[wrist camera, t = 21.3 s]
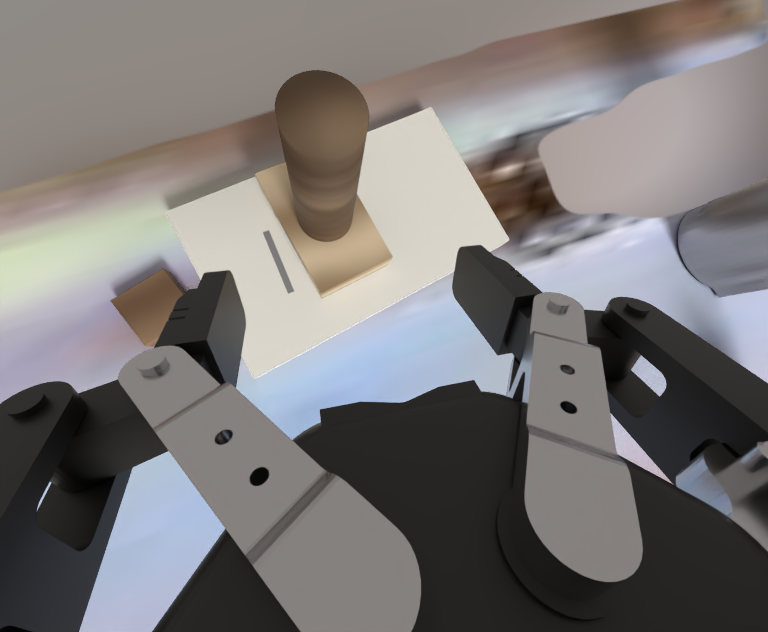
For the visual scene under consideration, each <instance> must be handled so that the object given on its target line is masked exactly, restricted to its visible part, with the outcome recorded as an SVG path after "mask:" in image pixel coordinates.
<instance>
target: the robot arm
mask: <svg viewBox="0 0 768 632" xmlns="http://www.w3.org/2000/svg"><path fill="white" fill-rule="evenodd" d="M678 246H679V250H680V254H681V257H682V259H683V261H684V263H685V265H686V266H687V268H688V270H689V271H690V272H691V273H692V274H693V276H694V277H695V278H696V279H698V280H699V281H700V282H701V283H703V284H705V285H707V286H709V287H710V288H712V289H713V290H714V291H715V292H716V294H717V296H718V297H725V296H730V295H736V294H742V293H748V292H754V291H760V290H766V289H768V178H766V179H763V180H761V181H758V182H756V183H754V184H751V185H749V186H747V187H744V188H742V189H740V190H738V191H735V192H733V193H730V194H728V195H726V196H723V197H720V198H718V199H715V200H713V201H710V202H708V203H707V204H705V205H702V206H700V207H698V208H695V209H693V210H691V211H690V212H688V213H687V214H686V215H685V217H684V218H683V219H682V221H681V224H680V226H679V231H678ZM452 289H453V294H454V297H455V299H456V300H457V302H458V303H459V304H460V306H461V307H462V308H463V310H464V311H465V312H466V314H467V315H468V316H469V318H470V319H471V320H472V322H473V323H474V324H475V326H476V327H477V328H478V330H479V331H480V332H481V334H482V335H483V336H484V338H485V339H486V340H487V342H488V343H489V344H490V346H491V347H492V348H493V350H494V351H495V352H496V354H497V355H502V354H508V353H513V355H514V357H513V360H512V363H511V368H510V374H509V380H508V386H507V392H506V396H504V395H500V394H496V393H490V392H481V391H480V389H479V387H478V386H477V384H476V383H475V381H474V380H472V381H467V382H462V383H457V384H451V385H446V386H441V387H438V388H435V389H433V390H431V391H429V392H427V393H424V394H422V395H420V396H418V397H416V398H413V399H411V400H409V401H407V402H403V403H386V402H357V403H352V404H347V405H342V406H336V407H331V408H326V409H321V410H320V417H321V423H319V424H316V425H314V426H312V427H311V428H309V429H307V430H305V431H304V432H302V433H301V434H300V435H298V436H297V437H296V438H294V439H293V440H291V439H290V438H289V437H288V436H287V435H286V434H285V433H284V432H283V431H282V430H280V429H279V428H278V427H277V426H276V425H275V424H274V423H273V422H272V421H271V420H270V419H269V418H267V417H266V416H265V415H264V414H263V413H262V412H261V411H260V410H259V409H258V408H257V407H256V406H254V405H253V404H252V403H251V402H250V401H249V400H248V399H247V398H246V397H245V396H244V395H242V394H241V393H240V392H239V391H238V390H237V389H236V384H237V378H238V372H239V366H240V360H241V353H242V347H243V341H244V335H245V329H246V317H245V312H244V308H243V305H242V302H241V299H240V295H239V292H238V289H237V286H236V283H235V280H234V277H233V274H232V272H231V271H230V270H225V271H216V272H206V273H204V274H203V276H202V279H201V281H200V283H199V286H198V288H197V289H190V290H188V291H187V292H186V293H185V294H183V295H182V296H181V297H180V298H179V299H178V300H177V302H176V304H175V306H174V308H173V312H171V314H170V316H169V318H168V320H169V321H167V322H166V324H165V326H164V328H163V330H162V332H161V334H160V336H159V338H158V340H157V343H156V345H155V347H154V348H153V349H150V350H147V351H145V352H142V353H141V354H139V355H137V356H135V357H134V358H132V359H131V360H130V361H128V362H127V363H126V364H125V365H124V366H123V368H122V369H121V371H120V373H119V376H118V380H115V381H113V382H110V383H107V384H104V385H101V386H98V387H96V388H93V389H90V390H87V391H84V392H81V393H77V392H76V391H75V389H74V388H73V387H72V386H71V385H70V384H68V383H66V382H60V381H56V382H47V383H43V384H39V385H36V386H33V387H30V388H28V389H25V390H23V391H21V392H19V393H17V394H15V395H13V396H11V397H10V398H8V399H7V400H5V401H4V402H2V403H1V404H0V632H79V630H80V627H81V624H82V620H83V617H84V614H85V611H86V608H87V605H88V602H89V599H90V596H91V593H92V590H93V587H94V584H95V581H96V578H97V575H98V572H99V569H100V565H101V562H102V559H103V556H104V553H105V550H106V547H107V544H108V541H109V538H110V535H111V532H112V529H113V526H114V523H115V520H116V517H117V513H118V510H119V507H120V504H121V501H122V498H123V495H124V492H125V489H126V486H127V483H128V480H129V477H130V474H131V471H132V468H133V467H134V466H137V465H139V464H141V463H143V462H145V461H147V460H150V459H152V458H154V457H156V456H158V455H161V454H163V453H165V452H167V451H169V452H170V453H171V454H172V456H173V457H174V459H175V460H176V461H177V463H178V464H179V465H180V467H181V468H182V470H183V471H184V472H185V474H186V475H187V476H188V478H189V479H190V480H191V482H192V483H193V485H194V486H195V487H196V489H197V490H198V491H199V493H200V494H201V496H202V497H203V498H204V500H205V501H206V502H207V504H208V505H209V507H210V508H211V509H212V511H213V512H214V513H215V515H216V516H217V517H218V519H219V520H220V522H221V523H222V524H223V526H224V527H225V528H226V529H225V530H224V532H223V533H222V534H221V536H220V537H219V539H218V540H217V541H216V543H215V544H214V546H213V547H212V548H211V550H210V551H209V553H208V554H207V555H206V557H205V558H204V560H203V561H202V562H201V564H200V565H199V567H198V568H197V569H196V571H195V572H194V574H193V575H192V576H191V578H190V579H189V581H188V582H187V583H186V585H185V586H184V588H183V589H182V591H181V592H180V593H179V595H178V596H177V598H176V599H175V600H174V602H173V603H172V605H171V606H170V607H169V609H168V610H167V612H166V613H165V614H164V616H163V617H162V619H161V620H160V621H159V623H158V624H157V626H156V627H155V628H154V630H153V631H152V632H768V383H766V382H765V381H763V380H762V379H760V378H759V377H758V376H756V375H755V374H753V373H752V372H750V371H749V370H747V369H746V368H744V367H743V366H741V365H740V364H738V363H737V362H735V361H734V360H732V359H731V358H730V357H728V356H727V355H725V354H724V353H722V352H721V351H719V350H718V349H716V348H715V347H713V346H712V345H710V344H709V343H707V342H706V341H705V340H703V339H702V338H700V337H699V336H697V335H696V334H694V333H693V332H691V331H690V330H688V329H687V328H685V327H684V326H682V325H681V324H680V323H678V322H677V321H675V320H674V319H672V318H671V317H669V316H668V315H666V314H665V313H663V312H662V311H660V310H659V309H657V308H656V307H654V306H653V305H651V304H649V303H646V302H644V301H641V300H638V299H634V298H628V297H616V298H613V299H611V300H610V302H609V303H608V305H607V307H606V309H605V311H594V310H584V309H583V307H582V305H581V304H580V303H579V302H577V301H576V300H574V299H573V298H571V297H568V296H566V295H563V294H559V293H552V292H545V293H543V292H541V291H540V290H539V289H538V288H537V287H536V286H534V285H533V284H532V283H531V282H530V281H528V280H527V279H526V278H525V277H524V276H522V275H521V274H520V273H519V272H518V271H517V270H515V269H514V268H513V267H512V266H511V265H510V264H509V263H507V262H506V261H504V260H502V259H500V258H497V257H495V256H493V255H492V254H491V253H490V252H489V251H488V250H487V249H485V248H484V247H483V246H482V245H473V246H463V247H460V248H459V250H458V253H457V258H456V264H455V271H454V277H453V284H452ZM641 355H642V356H643V357H644V358H645V359H646V360H648V361H649V362H650V363H651V364H652V365H653V366H655V367H656V368H657V369H658V370H659V371H660V372H661V373H662V374H663V375H664V377H665V379H666V383H667V386H666V390H665V391H664V392H663V394H662V395H661V396H660V397H659V396H658V395H657V394H656V393H655V392H654V391H653V390H652V389H651V388H650V387H648V386H647V385H646V384H645V383H644V382H643V381H642V380H641V379H640V378H639V377H638V376H637V375H636V374H634V373H633V372H632V371H631V369H632V367H633V366H634V364H635V363H636V361H637V360H638V359H639V357H640V356H641ZM610 413H611V414H612V415H613V416H614V417H615V418H616V419H617V421H618V422H619V423H620V424H621V425H622V426H623V427H624V429H625V430H626V431H627V432H628V433H629V434H630V435H631V437H632V438H633V439H634V440H635V441H636V442H637V443H638V445H639V446H640V447H641V448H642V449H643V450H644V451H645V452H646V454H647V455H648V456H649V457H650V458H651V459H652V460H653V462H654V463H655V464H656V465H657V466H658V467H659V468H660V470H661V471H662V472H663V473H664V474H665V475H666V476H667V478H668V479H669V480H670V481H671V482H672V483H673V484H674V485H673V484H671V483H669V482H667V481H665V480H664V479H662V478H660V477H658V476H656V475H654V474H653V473H651V472H649V471H647V470H645V469H643V468H642V467H640V466H638V465H636V464H634V463H632V462H630V461H629V460H627V459H625V458H623V457H621V456H619V455H618V454H617V452H616V447H615V441H614V434H613V428H612V421H611V415H610ZM49 482H52V483H51V485H50V487H49V489H48V491H47V493H46V495H45V497H44V499H43V501H42V503H41V505H40V507H39V509H38V511H37V507H38V504H39V501H40V499H41V497H42V495H43V493H44V491H45V489H46V488H47V486H48V484H49Z"/></svg>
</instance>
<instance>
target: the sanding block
mask: <svg viewBox="0 0 768 632" xmlns="http://www.w3.org/2000/svg"><path fill="white" fill-rule="evenodd" d="M275 113H276V118H277V123H278V128H279V132H280V137H281V142H282V147H283V151H284V156H285V161H286V162H283V163H281V164H278V165H276V166H273V167H270V168H268V169H265V170H263V171H260V172H258V173H255V175H256V177H257V180H258V183H259V185H260V188H261V190H262V192H263V193H264V195H265V197H266V199H267V201H268V202H269V204H270V206H271V208H272V210H273V211H274V213H275V215H276V217H277V219H278V220H279V222H280V224H281V226H282V228H283V229H284V231H285V233H286V235H287V237H288V239H289V240H290V242H291V244H292V246H293V248H294V249H295V251H296V253H297V255H298V257H299V258H300V260H301V262H302V264H303V266H304V267H305V269H306V271H307V273H308V275H309V276H310V278H311V280H312V282H313V284H314V286H315V287H316V289H317V291H318V293H319V295H320V296H321V298H324V297H326V296H328V295H330V294H332V293H334V292H336V291H338V290H340V289H342V288H344V287H346V286H348V285H350V284H352V283H354V282H356V281H358V280H360V279H362V278H364V277H366V276H368V275H370V274H371V273H373V272H375V271H377V270H379V269H381V268H383V267H385V266H387V265H388V264H389V263H390V261H391V259H392V258H393V256H392V255H391V253H390V251H389V249H388V248H387V246H386V244H385V242H384V240H383V239H382V237H381V235H380V233H379V232H378V230H377V228H376V226H375V225H374V223H373V221H372V219H371V218H370V216H369V214H368V212H367V211H366V209H365V207H364V205H363V204H362V202H361V200H360V198H359V197H358V195H357V189H358V184H359V178H360V172H361V166H362V160H363V154H364V148H365V142H366V136H367V130H368V124H369V110H368V106H367V103H366V101H365V99H364V97H363V95H362V94H361V92H360V91H359V90H358V89H357V87H355V86H354V85H353V84H352V83H351V82H350V81H348V80H347V79H345V78H343V77H342V76H339V75H337V74H334V73H331V72H327V71H319V70H312V71H306V72H302V73H299V74H297V75H295V76H293V77H291V78H290V79H289V80H287V81H286V82H285V83H284V84H283V86H282V87H281V88H280V90H279V92H278V94H277V97H276V102H275Z"/></svg>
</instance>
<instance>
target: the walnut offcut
mask: <svg viewBox="0 0 768 632" xmlns="http://www.w3.org/2000/svg"><path fill="white" fill-rule="evenodd" d="M183 294H185V292H184V290H183V289H182V288H181V286H180V285H179V284H178V283H177V281H176V280H175V279H174V277H173V276H172V275H171V273H169V272H168V271H166V270H164V269H162V270H160V271H159V272H157V273H155V274H154V275H152V276H150V277H149V278H147V279H145V280H144V281H142V282H140V283H139V284H137V285H135V286H134V287H132V288H130V289H129V290H127V291H125V292H124V293H122V294H121V295H119V296H117V297H116V298H114V299H112V300H111V302H112V303H113V305H114V306H115V307H116V309H117V310H118V311H119V313H120V314H121V315H122V316H123V318H124V319H125V320H126V322H127V323H128V324H129V326H130V327H131V328H132V329H133V331H134V332H135V333H136V335H137V336H138V337H139V339H140V340H141V341H142V343H143V344H144V345H146V346H154V345H156V343H157V340H158V338H159V336H160V334H161V332H162V330H163V328H164V326H165V324H166V322H167V321H169V320H168V318H169V316H170V314H171V312H173V308H174V306H175V304H176V302H177V300H178V299H179V298H180V297H181V296H182V295H183Z"/></svg>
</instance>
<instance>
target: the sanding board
mask: <svg viewBox="0 0 768 632" xmlns="http://www.w3.org/2000/svg"><path fill="white" fill-rule="evenodd" d="M357 195H358V197H359V198H360V200H361V202H362V204H363V205H364V207H365V209H366V211H367V212H368V214H369V216H370V218H371V219H372V221H373V223H374V225H375V226H376V228H377V230H378V232H379V233H380V235H381V237H382V239H383V240H384V242H385V244H386V246H387V248H388V249H389V251H390V253H391V255H392V256H393V258H392V259H391V261H390V263H389V264H388V265H387V266H385V267H383V268H381V269H379V270H377V271H375V272H373V273H371V274H370V275H368V276H366V277H364V278H362V279H360V280H358V281H356V282H354V283H352V284H350V285H348V286H346V287H344V288H342V289H340V290H338V291H336V292H334V293H332V294H330V295H328V296H326V297H324V298H321V296H320V295H319V293H318V291H317V289H316V287H315V286H314V284H313V282H312V280H311V278H310V276H309V275H308V273H307V271H306V269H305V267H304V266H303V264H302V262H301V260H300V258H299V257H298V255H297V253H296V251H295V249H294V248H293V246H292V244H291V242H290V240H289V239H288V237H287V235H286V233H285V231H284V229H283V228H282V226H281V224H280V222H279V220H278V219H277V217H276V215H275V213H274V211H273V210H272V208H271V206H270V204H269V202H268V201H267V199H266V197H265V195H264V193H263V192H262V190H261V188H260V185H259V183H258V180H257V177H256V176H255V177H252V178H250V179H247V180H245V181H242V182H240V183H237V184H235V185H232V186H229V187H227V188H224V189H222V190H219V191H217V192H214V193H212V194H209V195H207V196H204V197H201V198H199V199H196V200H194V201H191V202H189V203H186V204H184V205H181V206H179V207H176V208H174V209H171V210H168V211H166V212H165V214H166V216H167V218H168V220H169V221H170V223H171V225H172V227H173V229H174V231H175V233H176V235H177V236H178V238H179V240H180V242H181V244H182V246H183V248H184V249H185V251H186V253H187V255H188V257H189V259H190V261H191V263H192V264H193V266H194V268H195V270H196V272H197V274H198V276H199V278H200V279H202V276H203V274H204V273H206V272H216V271H225V270H230V271H231V272H232V274H233V277H234V280H235V283H236V286H237V289H238V292H239V295H240V299H241V302H242V305H243V308H244V312H245V317H246V329H245V335H244V341H243V347H242V353H241V356H242V358H243V360H244V362H245V363H246V365H247V367H248V369H249V371H250V373H251V375H252V377H253V378H259V377H260V376H262V375H264V374H266V373H268V372H270V371H271V370H273V369H275V368H277V367H279V366H281V365H282V364H284V363H286V362H288V361H290V360H292V359H294V358H295V357H297V356H299V355H301V354H303V353H305V352H306V351H308V350H310V349H312V348H314V347H316V346H317V345H319V344H321V343H323V342H325V341H327V340H329V339H330V338H332V337H334V336H336V335H338V334H340V333H341V332H343V331H345V330H347V329H349V328H351V327H352V326H354V325H356V324H358V323H360V322H362V321H363V320H365V319H367V318H369V317H371V316H373V315H375V314H376V313H378V312H380V311H382V310H384V309H386V308H387V307H389V306H391V305H393V304H395V303H397V302H398V301H400V300H402V299H404V298H406V297H408V296H410V295H411V294H413V293H415V292H417V291H419V290H421V289H422V288H424V287H426V286H428V285H430V284H432V283H433V282H435V281H437V280H439V279H441V278H443V277H445V276H446V275H448V274H450V273H452V272H454V271H455V264H456V258H457V253H458V250H459V248H460V247H463V246H473V245H482V246H483V247H484V248H485V249H487V250H488V251H489V252H491V251H492V250H494V249H496V248H498V247H500V246H501V245H503V244H504V243H506V242H507V241H509V238H508V236H507V235H506V233H505V231H504V229H503V228H502V226H501V224H500V223H499V221H498V219H497V218H496V216H495V214H494V213H493V211H492V209H491V207H490V206H489V204H488V202H487V201H486V199H485V197H484V196H483V194H482V192H481V190H480V189H479V187H478V185H477V184H476V182H475V180H474V179H473V177H472V175H471V174H470V172H469V170H468V168H467V167H466V165H465V163H464V162H463V160H462V158H461V157H460V155H459V153H458V151H457V150H456V148H455V146H454V145H453V143H452V141H451V140H450V138H449V136H448V135H447V133H446V131H445V129H444V128H443V126H442V124H441V123H440V121H439V119H438V118H437V116H436V114H435V112H434V111H433V109H432V107H430V108H428V109H425V110H423V111H420V112H417V113H415V114H412V115H410V116H407V117H405V118H402V119H400V120H397V121H395V122H392V123H389V124H387V125H384V126H382V127H379V128H377V129H374V130H372V131H369V132H367V136H366V142H365V148H364V154H363V160H362V166H361V172H360V178H359V184H358V189H357Z"/></svg>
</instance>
